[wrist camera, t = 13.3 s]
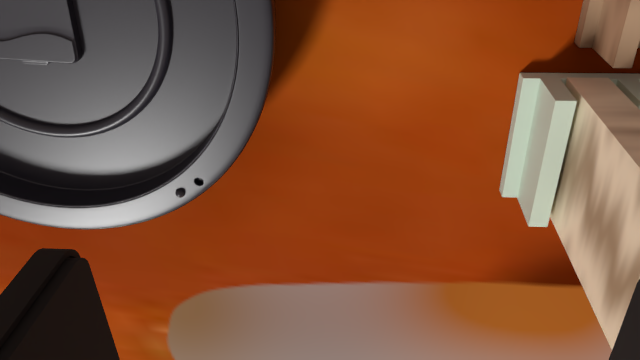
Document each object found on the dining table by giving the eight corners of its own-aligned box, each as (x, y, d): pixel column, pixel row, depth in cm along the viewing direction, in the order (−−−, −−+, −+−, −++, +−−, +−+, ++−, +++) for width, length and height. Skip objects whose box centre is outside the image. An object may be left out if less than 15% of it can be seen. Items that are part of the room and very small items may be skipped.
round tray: (292, 197, 43) (279, -312, 27) (281, 245, 38) (257, -346, 22) (-73, 178, 45) (-283, -304, 29) (-130, 222, 40) (-421, -334, 24)
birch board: (567, 77, 35) (666, 201, 23) (608, 77, 35) (730, 202, 23) (540, 197, 39) (612, 351, 28) (577, 197, 39) (664, 353, 27)
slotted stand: (519, 72, 36) (536, 100, 32) (648, 73, 35) (681, 102, 31) (499, 189, 41) (512, 225, 37) (612, 192, 40) (638, 229, 36)
